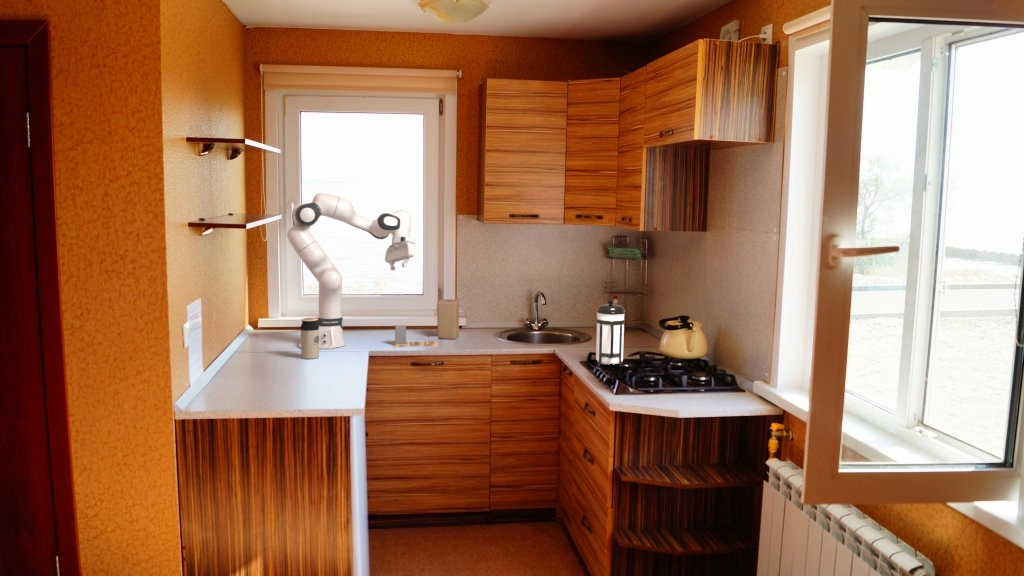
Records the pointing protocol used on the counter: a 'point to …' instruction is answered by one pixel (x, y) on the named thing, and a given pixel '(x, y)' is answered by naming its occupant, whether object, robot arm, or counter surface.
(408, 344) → the board
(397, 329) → the block
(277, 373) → the counter surface
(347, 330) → the counter surface
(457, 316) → the wooden block
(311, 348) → the travel mug
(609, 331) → the coffee press
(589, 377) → the counter surface
